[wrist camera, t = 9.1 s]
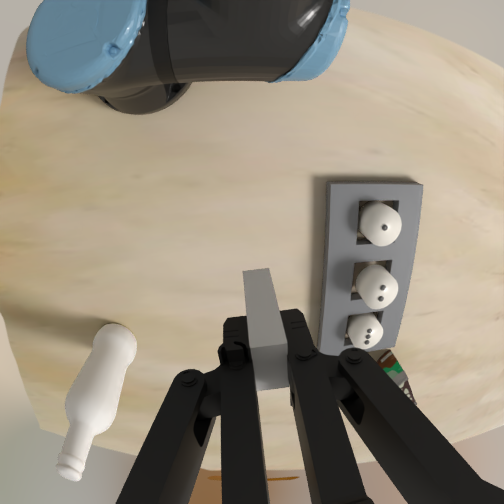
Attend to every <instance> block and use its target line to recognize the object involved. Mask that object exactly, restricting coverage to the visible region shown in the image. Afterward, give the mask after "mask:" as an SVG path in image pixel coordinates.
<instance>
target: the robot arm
mask: <svg viewBox="0 0 504 504" xmlns="http://www.w3.org/2000/svg"><path fill="white" fill-rule="evenodd" d="M349 9H350V0H44V1H43V2H42V3H41V4H40V5H39V7H38V8H37V10H36V12H35V14H34V16H33V18H32V21H31V24H30V27H29V30H28V35H27V42H26V52H27V59H28V63H29V66H30V68H31V70H32V72H33V74H34V75H35V76H36V77H37V78H38V79H39V80H40V81H41V82H42V83H43V84H45V85H47V86H49V87H52V88H55V89H57V90H60V91H61V92H65V93H74V94H75V93H83V94H90V95H97V96H99V98H100V99H101V100H102V101H103V102H104V103H105V104H106V105H107V106H109V107H111V108H112V109H114V110H116V111H119V112H122V113H126V114H135V115H144V114H150V113H154V112H157V111H160V110H163V109H165V108H167V107H168V106H170V105H172V104H173V103H174V102H176V101H177V100H178V99H179V98H180V97H181V96H182V95H183V94H184V93H185V92H186V91H187V89H188V88H189V86H190V85H191V83H192V82H205V81H265V82H268V83H273V82H276V83H277V82H281V81H307V80H311V79H314V78H316V77H318V76H319V75H321V74H322V73H323V72H324V71H325V70H326V69H327V68H328V67H329V66H330V65H331V63H332V62H333V60H334V58H335V57H336V55H337V53H338V51H339V49H340V47H341V44H342V42H343V39H344V36H345V33H346V29H347V25H348V20H347V19H346V14H347V12H348V11H349ZM243 279H244V291H245V302H246V313H247V316H240V317H231V318H227V320H226V321H225V323H224V324H223V344H222V345H221V346H220V347H219V349H218V356H219V360H220V364H221V365H220V366H219V367H218V368H216V369H215V370H213V371H210V372H207V373H204V374H203V373H202V372H200V371H199V370H195V369H188V370H184V371H182V372H180V373H179V374H177V376H176V377H175V378H174V380H173V382H172V384H171V386H170V388H169V391H168V393H167V395H166V397H165V399H164V401H163V403H162V405H161V407H160V409H159V412H158V414H157V416H156V418H155V420H154V422H153V424H152V426H151V428H150V431H149V433H148V435H147V437H146V439H145V441H144V443H143V445H142V448H141V450H140V452H139V454H138V456H137V458H136V460H135V463H134V465H133V467H132V469H131V471H130V473H129V476H128V478H127V480H126V482H125V484H124V486H123V489H122V491H121V493H120V495H119V497H118V499H117V502H116V504H188V503H189V500H190V497H191V494H192V491H193V488H194V485H195V482H196V479H197V476H198V473H199V470H200V467H201V463H202V460H203V457H204V454H205V451H206V448H207V445H208V442H209V439H210V436H211V432H212V429H213V426H214V423H215V420H216V416H219V415H221V473H222V474H221V477H222V504H270V500H269V492H268V483H267V475H266V466H265V458H264V449H263V441H262V432H261V423H260V414H259V405H258V397H257V391H262V390H270V389H278V388H285V387H289V386H290V402H291V406H292V407H293V411H294V416H295V421H296V426H297V431H298V436H299V441H300V446H301V451H302V456H303V461H304V466H305V471H306V476H307V481H308V487H309V492H310V497H311V502H312V504H374V502H373V501H372V499H370V498H369V497H368V496H367V495H366V492H365V489H364V486H363V483H362V479H361V476H360V473H359V469H358V466H357V463H356V460H355V457H354V453H353V450H352V447H351V444H350V441H349V438H348V435H347V431H346V428H345V425H344V422H343V419H342V416H341V413H340V410H339V408H340V409H341V410H342V412H343V413H344V415H345V416H346V418H347V419H348V420H349V422H350V423H351V425H352V426H353V428H354V429H355V430H356V432H357V433H358V435H359V436H360V437H361V439H362V440H363V442H364V443H365V444H366V446H367V447H368V449H369V450H370V452H371V453H372V454H373V456H374V457H375V459H376V460H377V461H378V463H379V464H380V466H381V467H382V468H383V470H384V471H385V473H386V474H387V475H388V477H389V478H390V480H391V481H392V482H393V484H394V485H395V486H396V488H397V489H398V490H399V492H400V493H401V495H402V496H403V497H404V499H405V500H406V501H407V503H408V504H504V490H503V489H501V488H498V487H496V486H494V485H492V484H490V483H488V482H486V481H484V480H482V479H481V478H480V477H479V476H478V474H477V473H476V472H475V471H474V470H473V469H472V468H471V467H470V465H469V464H468V463H467V462H466V461H465V460H464V459H463V457H462V456H461V455H460V454H459V453H458V452H457V451H456V450H455V448H454V447H453V446H452V445H451V444H450V443H449V442H448V441H447V439H446V438H445V437H444V436H443V435H442V434H441V433H440V432H439V431H438V429H437V428H436V427H435V426H434V425H433V424H432V423H431V422H430V421H429V419H428V418H427V417H426V416H425V415H424V414H423V413H422V412H421V411H420V409H419V408H418V407H417V406H416V405H415V404H414V403H413V402H412V401H411V400H410V398H409V397H408V396H407V395H406V394H405V393H404V392H403V391H402V390H401V389H400V387H399V386H398V385H397V384H396V383H395V382H394V381H393V380H392V379H391V378H390V377H389V375H388V374H387V373H386V372H385V371H384V370H383V369H382V368H381V367H380V366H379V365H378V364H377V362H376V361H375V360H374V359H373V358H372V357H371V356H370V355H369V354H368V353H367V352H366V351H365V350H363V349H360V348H353V347H352V348H347V349H345V350H343V351H342V352H341V353H340V355H339V356H335V355H326V354H323V353H321V352H319V350H318V349H317V348H315V346H314V344H313V341H312V338H311V335H310V332H309V329H308V327H307V323H306V320H305V318H304V315H303V313H302V312H300V311H299V310H298V309H290V310H283V311H279V307H278V303H277V299H276V295H275V291H274V287H273V283H272V279H271V275H270V271H269V268H265V269H257V270H248V271H243ZM338 406H339V407H338Z"/></svg>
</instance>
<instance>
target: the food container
mask: <svg viewBox="0 0 504 504" xmlns="http://www.w3.org/2000/svg"><path fill="white" fill-rule="evenodd" d="M377 364H378V365H379V366H380V367H381V368H382V369H383V370H384V371H385V372H386V373H387V374H388V375H389V377H390V378H391V379H392V380H393V381H394V382H395V383H396V384H397V385H398V386H399V387H400V389H401V390H402V391H403V392H404V393H405V394H406V395H407V396H408V397H409V398H410V400H411V401H412V402H413V403H414V404H415V405H417V403H416V401H415V399H414V397H413V394H412V391H411V388H410V385H409V383H408V377H407V375H406V373H405V371H404V370H403V369H402V367H401V366H400V364H399V363H398V361H397V359H396V358H395V356H394V355H393V353H392V352H391V350H388V351H387V352H385V353H384V354H383V355H382V356H381V357H380V358H379V360H378V361H377Z"/></svg>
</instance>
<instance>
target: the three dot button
mask: <svg viewBox="0 0 504 504" xmlns="http://www.w3.org/2000/svg"><path fill="white" fill-rule="evenodd" d="M346 331H347V333H348V335H349V337H350V339H351V341H352V343H353V345H354V347H356V348H360V349H368V348H371V347H373V346H374V345H376V344H377V343H378V342H379V341H380V339H381V338H382V335H383V328H382V326H381V324H380V323H379V321H378V320H377V318H376V317H375V315H374V314H373V313H372V312H370V313H363V314H355V315H352V316H351V317H350V318H349V319H348V320H347V327H346Z"/></svg>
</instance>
